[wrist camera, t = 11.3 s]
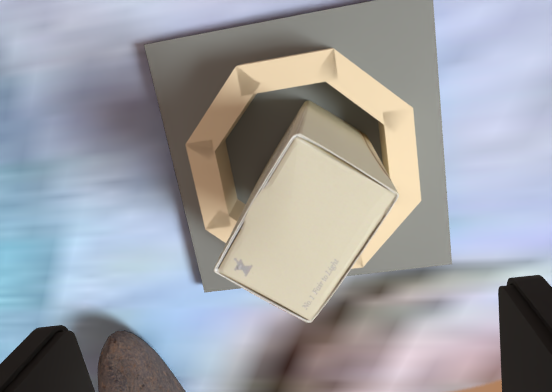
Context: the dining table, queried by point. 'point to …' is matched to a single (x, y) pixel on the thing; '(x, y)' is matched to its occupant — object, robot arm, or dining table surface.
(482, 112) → the dining table surface
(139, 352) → the perforated stone tool
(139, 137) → the dining table surface
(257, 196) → the skincare box
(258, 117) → the collar board
